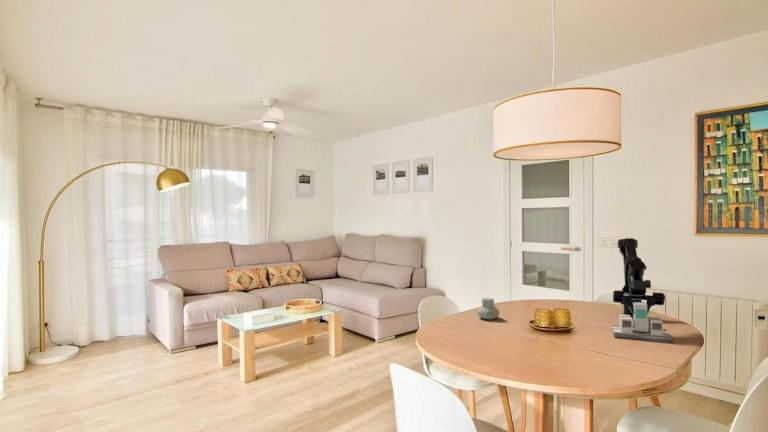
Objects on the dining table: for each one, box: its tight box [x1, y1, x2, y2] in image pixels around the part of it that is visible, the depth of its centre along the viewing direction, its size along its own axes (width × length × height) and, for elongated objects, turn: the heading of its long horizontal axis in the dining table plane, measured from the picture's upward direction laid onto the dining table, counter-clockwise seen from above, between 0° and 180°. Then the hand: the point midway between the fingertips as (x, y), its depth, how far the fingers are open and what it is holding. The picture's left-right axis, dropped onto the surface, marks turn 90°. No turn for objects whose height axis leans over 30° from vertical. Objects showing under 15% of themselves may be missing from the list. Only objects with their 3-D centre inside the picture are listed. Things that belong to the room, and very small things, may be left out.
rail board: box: [611, 313, 674, 344], centre depth 167 cm, size 14×20×8 cm
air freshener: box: [476, 297, 500, 321], centre depth 201 cm, size 11×8×10 cm
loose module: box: [632, 301, 648, 332], centre depth 167 cm, size 6×4×11 cm
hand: (640, 314), depth 166 cm, fingers closed on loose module, 4 cm apart
